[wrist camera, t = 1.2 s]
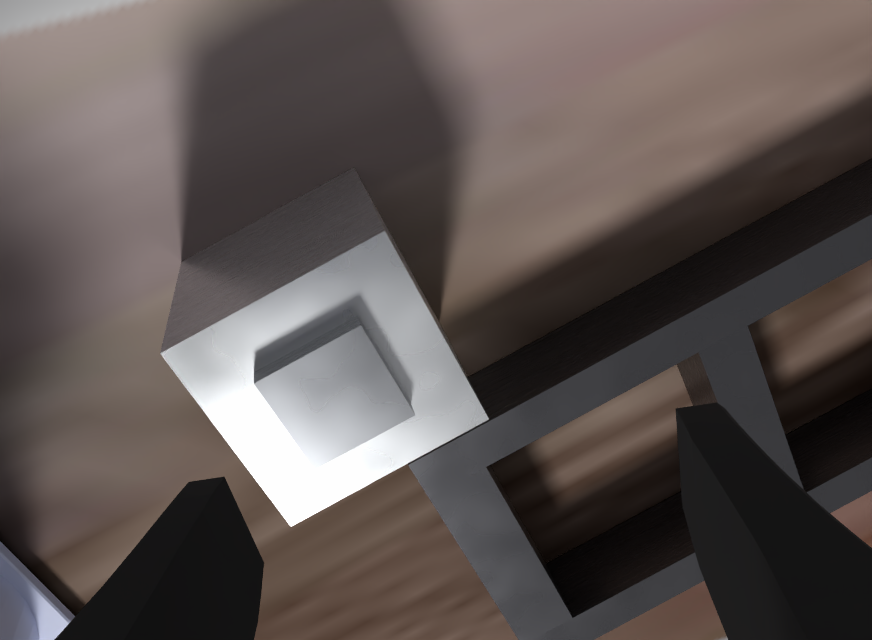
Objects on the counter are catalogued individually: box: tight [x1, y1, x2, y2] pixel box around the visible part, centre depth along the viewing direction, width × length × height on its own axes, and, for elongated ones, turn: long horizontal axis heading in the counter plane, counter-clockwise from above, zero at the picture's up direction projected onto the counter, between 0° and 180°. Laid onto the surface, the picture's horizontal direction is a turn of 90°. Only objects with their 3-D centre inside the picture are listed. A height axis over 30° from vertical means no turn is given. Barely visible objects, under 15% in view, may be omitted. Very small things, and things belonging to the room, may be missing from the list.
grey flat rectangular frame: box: [408, 159, 872, 640], centre depth 25 cm, size 18×9×2 cm, turn 116°
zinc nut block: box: [160, 167, 489, 526], centre depth 20 cm, size 5×5×6 cm
